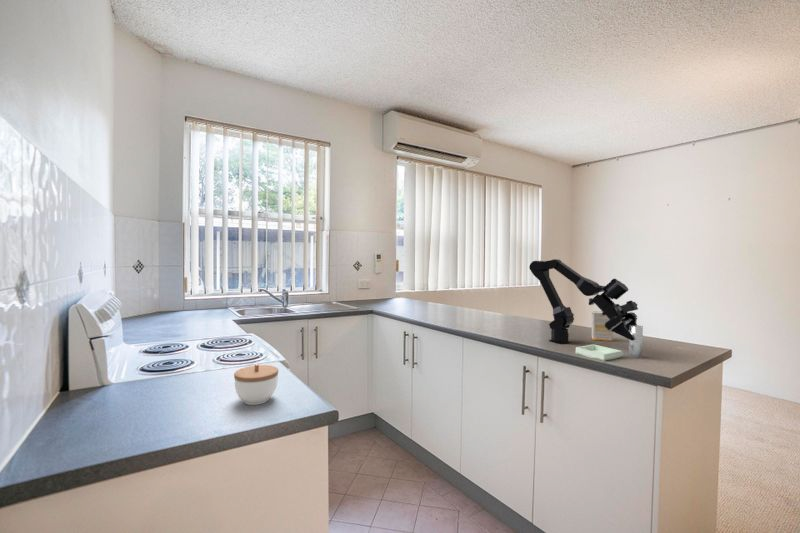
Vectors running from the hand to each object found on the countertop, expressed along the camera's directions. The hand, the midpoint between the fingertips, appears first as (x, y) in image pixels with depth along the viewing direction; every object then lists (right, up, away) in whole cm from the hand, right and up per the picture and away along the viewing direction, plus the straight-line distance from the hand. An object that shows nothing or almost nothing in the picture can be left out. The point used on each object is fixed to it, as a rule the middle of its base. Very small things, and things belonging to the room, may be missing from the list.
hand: (637, 338), depth 142 cm
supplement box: (+2, -7, +29) cm, 30 cm away
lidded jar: (-130, -7, -46) cm, 138 cm away
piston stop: (-1, -7, +1) cm, 7 cm away
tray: (-14, -7, +2) cm, 16 cm away
